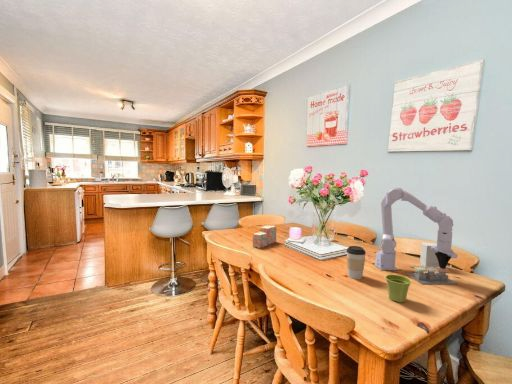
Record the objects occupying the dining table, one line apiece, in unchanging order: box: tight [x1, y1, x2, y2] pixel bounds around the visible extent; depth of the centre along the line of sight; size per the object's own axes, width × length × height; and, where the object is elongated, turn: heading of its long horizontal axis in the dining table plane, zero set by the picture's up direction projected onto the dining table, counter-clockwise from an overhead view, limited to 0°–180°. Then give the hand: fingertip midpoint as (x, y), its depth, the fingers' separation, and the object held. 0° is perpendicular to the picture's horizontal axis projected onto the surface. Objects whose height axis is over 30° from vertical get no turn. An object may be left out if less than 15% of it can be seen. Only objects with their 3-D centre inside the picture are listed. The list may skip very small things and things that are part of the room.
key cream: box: [424, 267, 439, 275], centre depth 125 cm, size 4×4×4 cm
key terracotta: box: [435, 267, 450, 275], centre depth 126 cm, size 4×4×4 cm
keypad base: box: [405, 272, 458, 285], centre depth 126 cm, size 17×12×2 cm
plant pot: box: [385, 274, 412, 303], centre depth 105 cm, size 9×9×9 cm
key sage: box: [413, 266, 428, 275], centre depth 125 cm, size 4×4×4 cm
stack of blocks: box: [252, 224, 277, 249], centre depth 183 cm, size 21×6×12 cm, turn 144°
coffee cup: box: [346, 245, 367, 280], centre depth 127 cm, size 9×9×15 cm
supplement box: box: [419, 242, 439, 268], centre depth 142 cm, size 7×7×13 cm
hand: (442, 267), depth 125 cm, fingers closed
